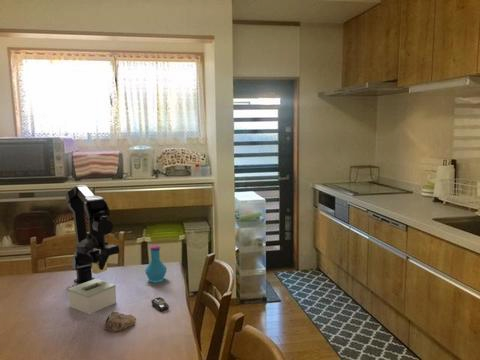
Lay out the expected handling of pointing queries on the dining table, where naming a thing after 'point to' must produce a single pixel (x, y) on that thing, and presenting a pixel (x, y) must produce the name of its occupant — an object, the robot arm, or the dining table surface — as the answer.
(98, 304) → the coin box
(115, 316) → the rock
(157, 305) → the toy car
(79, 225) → the robot arm
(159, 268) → the perfume bottle
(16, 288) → the dining table surface
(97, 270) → the wooden block
